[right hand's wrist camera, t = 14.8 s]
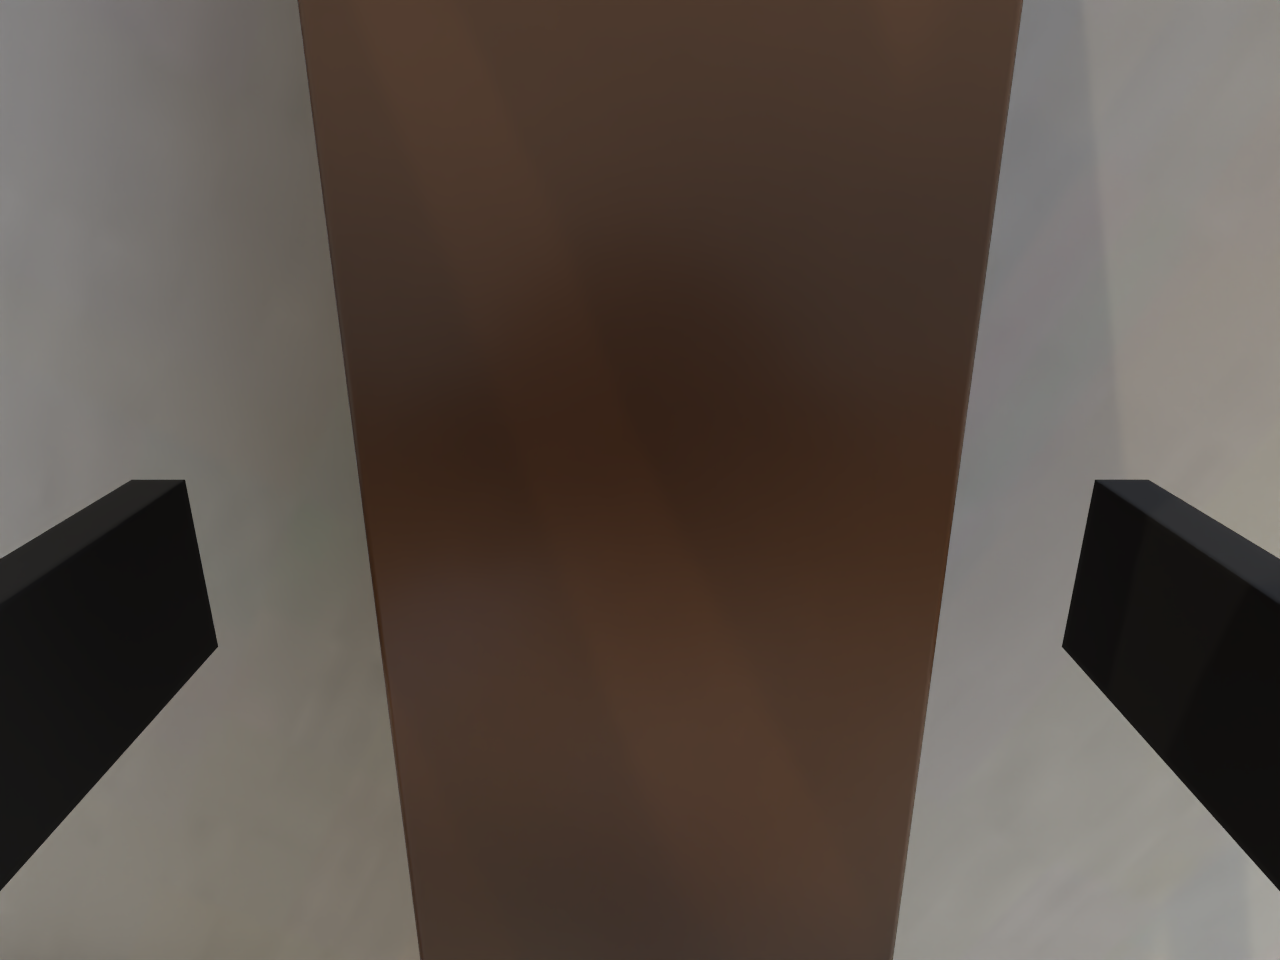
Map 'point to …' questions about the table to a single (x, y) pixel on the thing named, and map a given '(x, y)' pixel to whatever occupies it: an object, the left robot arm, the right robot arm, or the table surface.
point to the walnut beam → (658, 446)
